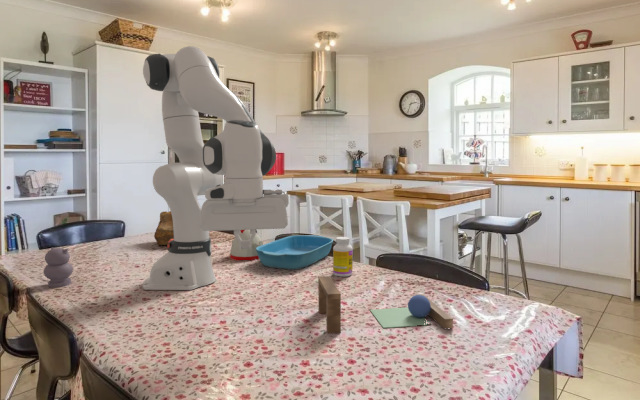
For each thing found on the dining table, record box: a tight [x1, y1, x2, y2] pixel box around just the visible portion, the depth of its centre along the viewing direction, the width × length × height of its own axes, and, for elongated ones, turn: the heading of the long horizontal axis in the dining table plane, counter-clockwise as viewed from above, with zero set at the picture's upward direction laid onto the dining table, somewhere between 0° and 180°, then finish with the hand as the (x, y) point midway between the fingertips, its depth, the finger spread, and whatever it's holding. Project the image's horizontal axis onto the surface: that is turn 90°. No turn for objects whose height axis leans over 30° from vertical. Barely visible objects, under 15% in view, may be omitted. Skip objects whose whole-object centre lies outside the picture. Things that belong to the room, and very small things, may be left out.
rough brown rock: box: [153, 211, 174, 246], centre depth 199 cm, size 23×17×15 cm
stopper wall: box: [419, 293, 454, 329], centre depth 109 cm, size 2×18×2 cm, turn 9°
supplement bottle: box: [332, 236, 353, 278], centre depth 147 cm, size 7×7×13 cm
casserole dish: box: [256, 234, 334, 270], centre depth 168 cm, size 37×22×7 cm, turn 153°
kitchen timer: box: [229, 230, 264, 261], centre depth 174 cm, size 14×14×15 cm
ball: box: [407, 294, 431, 318], centre depth 108 cm, size 6×6×6 cm
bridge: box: [317, 275, 342, 334], centre depth 105 cm, size 3×15×9 cm, turn 9°
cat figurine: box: [43, 247, 74, 289], centre depth 137 cm, size 8×8×12 cm
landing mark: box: [369, 306, 431, 329], centre depth 108 cm, size 12×12×1 cm
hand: (245, 248), depth 101 cm, fingers closed
